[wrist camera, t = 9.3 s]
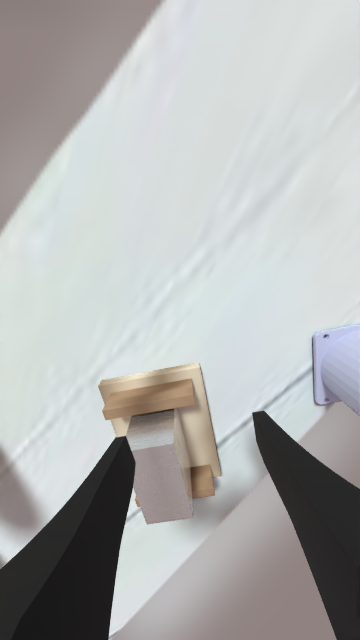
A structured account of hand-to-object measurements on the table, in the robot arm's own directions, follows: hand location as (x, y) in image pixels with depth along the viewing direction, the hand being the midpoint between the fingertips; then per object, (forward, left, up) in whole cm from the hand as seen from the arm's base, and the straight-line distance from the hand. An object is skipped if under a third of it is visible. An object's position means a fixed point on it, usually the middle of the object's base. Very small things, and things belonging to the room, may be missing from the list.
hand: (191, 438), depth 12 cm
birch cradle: (+4, +7, -9) cm, 13 cm away
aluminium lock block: (+4, +7, -8) cm, 12 cm away
